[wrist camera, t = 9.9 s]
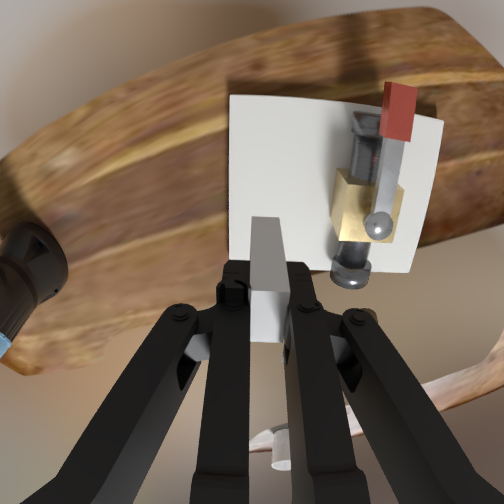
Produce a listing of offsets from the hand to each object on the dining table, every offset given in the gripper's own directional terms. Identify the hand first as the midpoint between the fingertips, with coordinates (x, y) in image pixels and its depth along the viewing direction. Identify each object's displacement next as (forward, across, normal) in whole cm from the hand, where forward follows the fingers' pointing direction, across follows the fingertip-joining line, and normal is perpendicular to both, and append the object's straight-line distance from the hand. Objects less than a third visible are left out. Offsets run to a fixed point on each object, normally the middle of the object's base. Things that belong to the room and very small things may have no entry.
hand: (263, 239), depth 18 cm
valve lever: (+16, +13, +2) cm, 20 cm away
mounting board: (+25, +10, -5) cm, 28 cm away
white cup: (+26, +12, -72) cm, 78 cm away
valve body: (+23, +13, -5) cm, 27 cm away
